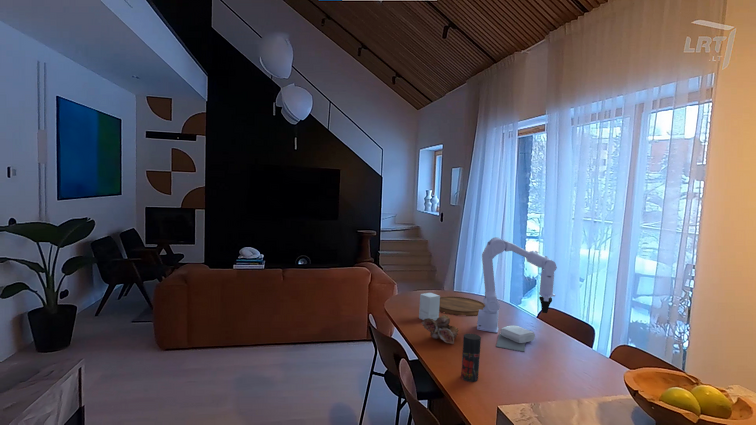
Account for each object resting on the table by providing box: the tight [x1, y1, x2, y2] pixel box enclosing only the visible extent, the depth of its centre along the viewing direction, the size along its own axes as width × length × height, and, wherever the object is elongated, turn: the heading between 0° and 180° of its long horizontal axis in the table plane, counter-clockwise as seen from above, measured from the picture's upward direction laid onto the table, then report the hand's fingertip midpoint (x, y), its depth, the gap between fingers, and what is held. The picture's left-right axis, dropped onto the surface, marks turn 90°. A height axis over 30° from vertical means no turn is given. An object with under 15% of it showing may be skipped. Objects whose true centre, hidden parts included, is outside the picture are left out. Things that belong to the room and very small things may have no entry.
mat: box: [495, 333, 526, 353], centre depth 182 cm, size 12×17×1 cm
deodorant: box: [460, 333, 482, 383], centre depth 145 cm, size 6×6×15 cm
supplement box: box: [418, 292, 441, 321], centre depth 209 cm, size 7×7×13 cm
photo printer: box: [500, 325, 536, 344], centre depth 187 cm, size 10×4×12 cm
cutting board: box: [439, 295, 485, 317], centre depth 233 cm, size 32×32×2 cm
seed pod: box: [420, 314, 459, 345], centre depth 182 cm, size 13×16×15 cm
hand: (544, 312), depth 195 cm, fingers closed
